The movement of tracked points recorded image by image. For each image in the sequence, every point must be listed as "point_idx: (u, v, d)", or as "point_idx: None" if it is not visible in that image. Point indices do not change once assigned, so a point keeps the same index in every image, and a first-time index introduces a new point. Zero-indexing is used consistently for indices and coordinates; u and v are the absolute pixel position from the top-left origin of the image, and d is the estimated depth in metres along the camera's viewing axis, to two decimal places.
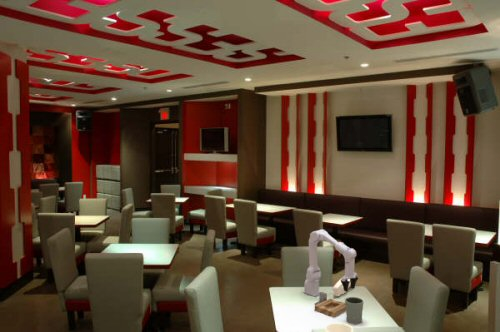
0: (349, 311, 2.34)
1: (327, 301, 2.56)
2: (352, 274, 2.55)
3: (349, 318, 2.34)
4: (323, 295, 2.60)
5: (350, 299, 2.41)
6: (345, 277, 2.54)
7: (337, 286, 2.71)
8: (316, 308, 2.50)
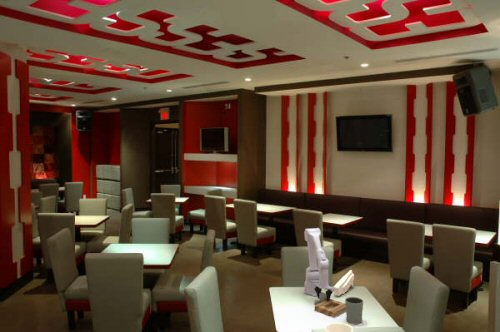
0: (349, 311, 2.34)
1: (327, 301, 2.56)
2: (320, 284, 2.60)
3: (349, 318, 2.34)
4: (323, 295, 2.60)
5: (350, 299, 2.41)
6: (317, 284, 2.64)
7: (338, 285, 2.72)
8: (316, 308, 2.50)
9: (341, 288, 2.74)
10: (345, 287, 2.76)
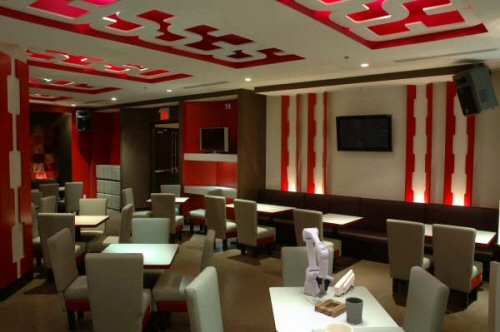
0: (349, 311, 2.34)
1: (327, 301, 2.56)
2: (319, 273, 2.59)
3: (349, 318, 2.34)
4: (323, 286, 2.59)
5: (350, 299, 2.41)
6: (316, 273, 2.64)
7: (338, 285, 2.73)
8: (316, 308, 2.50)
9: (341, 288, 2.74)
10: (345, 287, 2.77)
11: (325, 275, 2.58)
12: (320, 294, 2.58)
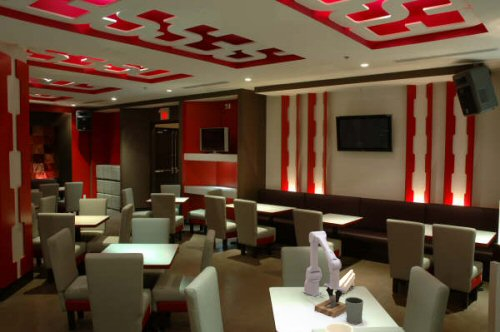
0: (349, 311, 2.34)
1: (327, 301, 2.56)
2: (330, 284, 2.51)
3: (349, 318, 2.34)
4: (334, 298, 2.51)
5: (350, 299, 2.41)
6: (327, 284, 2.55)
7: (339, 285, 2.73)
8: (316, 308, 2.50)
9: (342, 287, 2.75)
10: (346, 286, 2.77)
11: (336, 286, 2.49)
12: (331, 306, 2.50)
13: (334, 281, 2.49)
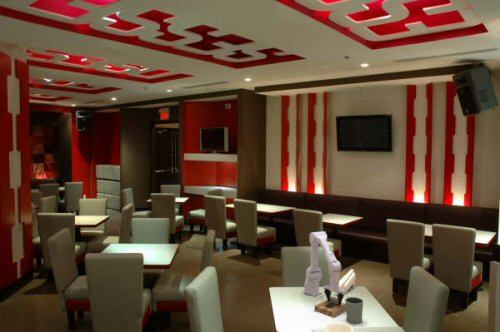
0: (349, 311, 2.34)
1: (327, 301, 2.56)
2: (330, 287, 2.51)
3: (349, 318, 2.34)
4: (334, 300, 2.51)
5: (350, 299, 2.41)
6: (327, 286, 2.55)
7: (339, 284, 2.74)
8: (316, 308, 2.50)
9: (342, 287, 2.75)
10: (346, 286, 2.78)
11: (336, 288, 2.50)
12: (331, 308, 2.50)
13: (334, 283, 2.49)
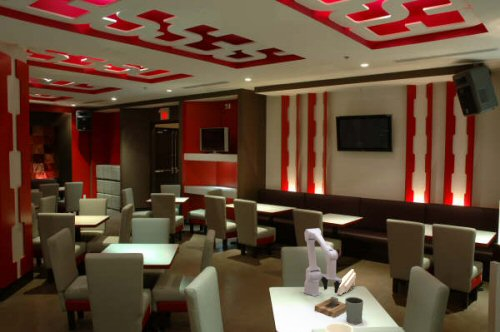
0: (349, 311, 2.34)
1: (327, 301, 2.56)
2: (327, 275, 2.55)
3: (349, 318, 2.34)
4: (334, 300, 2.51)
5: (350, 299, 2.41)
6: (324, 275, 2.60)
7: (340, 284, 2.74)
8: (316, 308, 2.50)
9: (343, 287, 2.76)
10: (347, 286, 2.78)
11: (333, 276, 2.54)
12: (331, 308, 2.50)
13: (331, 271, 2.54)
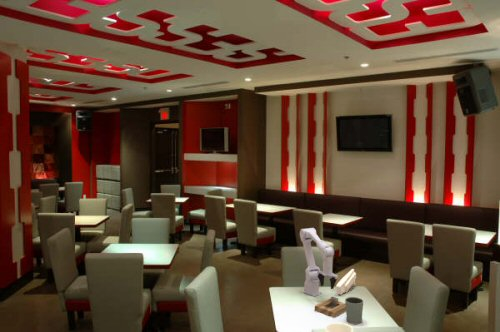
0: (349, 311, 2.34)
1: (327, 301, 2.56)
2: (323, 271, 2.61)
3: (349, 318, 2.34)
4: (334, 300, 2.51)
5: (350, 299, 2.41)
6: (320, 271, 2.65)
7: (340, 284, 2.75)
8: (316, 308, 2.50)
9: (343, 287, 2.76)
10: (347, 286, 2.79)
11: (329, 273, 2.59)
12: (331, 308, 2.50)
13: (327, 268, 2.59)
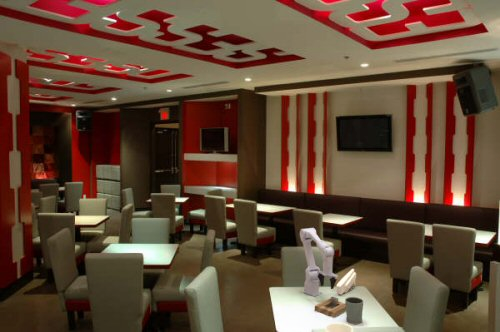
0: (349, 311, 2.34)
1: (327, 301, 2.56)
2: (323, 271, 2.61)
3: (349, 318, 2.34)
4: (334, 300, 2.51)
5: (350, 299, 2.41)
6: (320, 271, 2.65)
7: (340, 284, 2.75)
8: (316, 308, 2.50)
9: (343, 287, 2.76)
10: (347, 286, 2.79)
11: (329, 273, 2.59)
12: (331, 308, 2.50)
13: (327, 268, 2.59)
